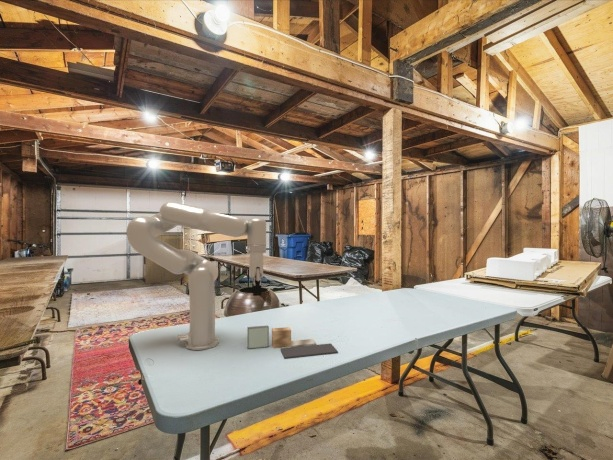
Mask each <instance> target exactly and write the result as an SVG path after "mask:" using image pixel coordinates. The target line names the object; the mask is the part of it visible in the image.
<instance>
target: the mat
mask: <svg viewBox="0 0 613 460" xmlns="http://www.w3.org/2000/svg"><path fill="white" fill-rule="evenodd" d="M280 352H281V354H282V357H283V359H284V360H286V359H296V358H305V357H314V356H324V355H333V354H338V353H339V351H338V350H337V348H336V347H335V346H334V345H333V344H332V343H321V344H316V345H310V346H299V347H282V348H280Z"/></svg>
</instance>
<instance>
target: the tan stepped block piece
mask: <svg viewBox="0 0 613 460" xmlns="http://www.w3.org/2000/svg"><path fill="white" fill-rule="evenodd" d="M310 345H317V343H316V341H315V339H314V338H309V339H298V340H297V339H296V340H292V329H291V327H290V326H287V327H272V328H271V346H272V349H281V348H289V347H299V346H310Z"/></svg>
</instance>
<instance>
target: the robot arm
mask: <svg viewBox="0 0 613 460" xmlns="http://www.w3.org/2000/svg"><path fill="white" fill-rule="evenodd" d="M178 226H181V227H186V228H189V229H194V230H198V231H202V232H210V233H214V234H220V235H224V236H228V237H234V238H239V237H245V236H247V238H246V239H247V240H246V241H247V243H246V244H247V246H246V247H247V248H246V249H247V250H246V251H247V252H246V253H247V254H249V260H248V261H249V263H248V264H249V265H248V266H249V267H248V268H249V271H248V275H249V277H250V278H251V279H252V283H251V285H252V288H251V291H252V292H251V293H252V296H253V297H258V296H259V297H260V296H262V278H263V277H264V254H265V253H267V221H266V219H264V218H249V219H248V218H247V219H246V218H240V217H236V216H233V215H232V216H231V215H227V214H222V213H218V212H214V211H212V210H209V209H206V208H201V207H198V206H192V205H188V204H185V203H184V204H183V203H179V202H175V201H169V202H165V203H163V204H162V205H161V207H160V208H159V212H158V213H156V214H153V215H152V216H144V215H143V216H137V217H135V218H133V219H131V220H130V221H129V222H128V225H127V228H126V237H127V240H128V243H129V245H130V246H131V247H132V248H133V250H134V251H136V252H137V253H138V254H140V255H141V256H143V257H145V258H146V259H149V261H151V262H153V263H155V264H156V265H158V266H160V267H161V268H164V269H165V270H167V271H169V272H170V273H172V274H173V275H181V274H185V275H187V276H188V280H187V284H188V293H189V332H188V333H186V334H178V335H177V341H179V342H180V343H182V342H185V348H186V349H188V350H193V351H203V350H208V349H212V348H215V347H216V346H218V345H219V343H220V338H218V336H216V292H215V291H216V290H215V281H216V280H217V279H218V276H219V269H218V267H217V266H216V265H215V264H214V263H213V262H211V261H210V260H208V259H206V258H205V257H203V256H201V255H199V254H197V253H196V252H195V251H192V250H190V249H186V248H182V249H181V248H179V249H178V248H176V247H174V246H173V245H170V244H169V243H168V242H166V241H164V240H162V239H160V238H158V237H160V236H162V235H163V234H165V233H167V232H169V231H170V230H173V229H174V228H176V227H178Z"/></svg>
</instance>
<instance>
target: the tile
mask: <svg viewBox="0 0 613 460" xmlns="http://www.w3.org/2000/svg"><path fill="white" fill-rule="evenodd" d="M269 329H270V327H269V325H267V324H266V325H256V326H254V325H253V326H247V329H246V331H247V335H246V337H247V338H246V339H247V342H246V343H247V347H246V348H247V350H251V349H252V350H253V349H261V348H263V349H264V348H269V346H270V344H269V343H270V341H269V339H270V337H269V335H270V331H269Z"/></svg>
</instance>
